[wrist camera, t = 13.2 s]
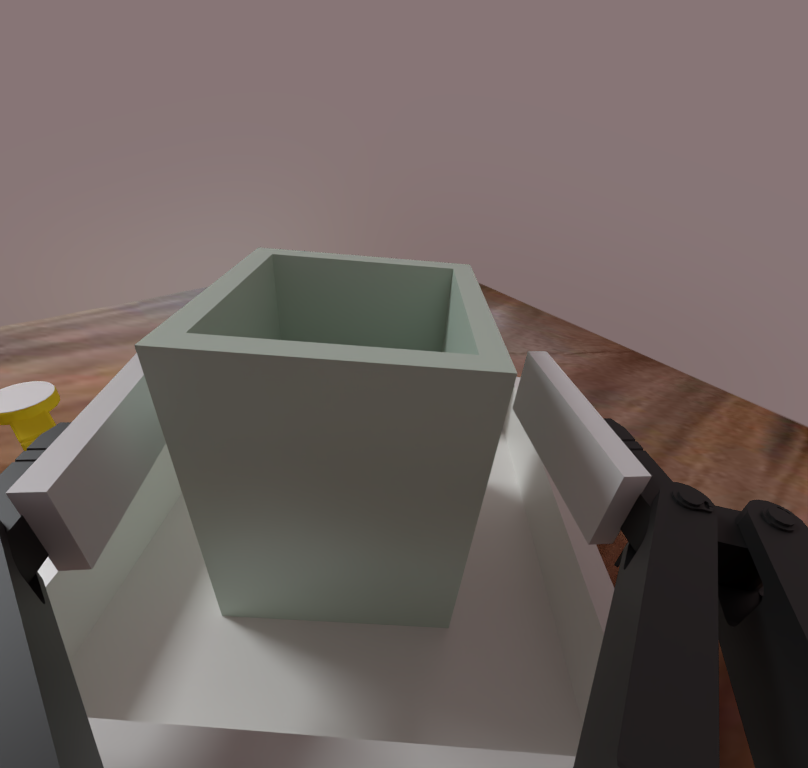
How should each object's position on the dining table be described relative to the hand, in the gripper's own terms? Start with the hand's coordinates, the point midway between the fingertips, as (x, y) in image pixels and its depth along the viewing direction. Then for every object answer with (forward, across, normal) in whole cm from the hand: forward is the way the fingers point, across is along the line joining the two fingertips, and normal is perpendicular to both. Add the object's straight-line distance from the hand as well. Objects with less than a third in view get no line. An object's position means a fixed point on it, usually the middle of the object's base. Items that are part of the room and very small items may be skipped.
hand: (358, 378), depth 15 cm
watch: (+4, -16, -10) cm, 19 cm away
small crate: (0, 0, -9) cm, 9 cm away
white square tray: (0, 0, -10) cm, 10 cm away
